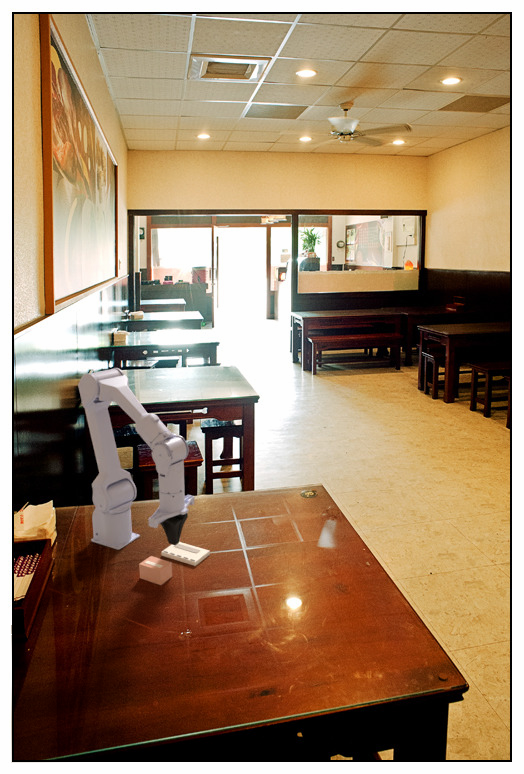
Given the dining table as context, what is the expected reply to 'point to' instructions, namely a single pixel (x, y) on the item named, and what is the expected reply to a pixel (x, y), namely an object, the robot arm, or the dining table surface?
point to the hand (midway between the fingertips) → (173, 543)
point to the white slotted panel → (186, 553)
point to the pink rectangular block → (155, 570)
